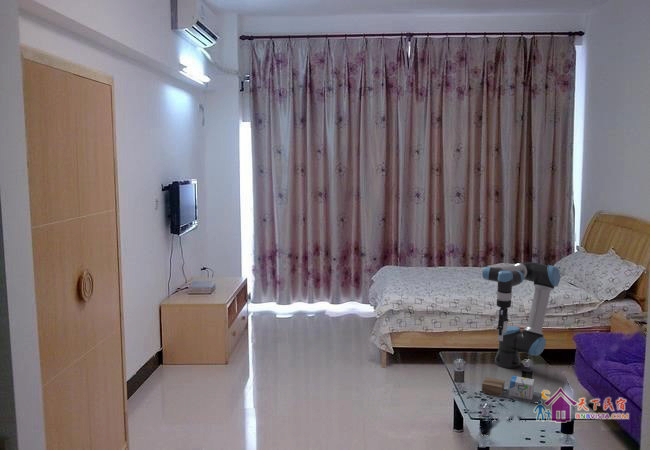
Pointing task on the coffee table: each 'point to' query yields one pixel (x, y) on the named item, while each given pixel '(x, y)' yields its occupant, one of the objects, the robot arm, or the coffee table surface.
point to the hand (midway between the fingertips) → (502, 336)
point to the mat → (535, 398)
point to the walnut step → (493, 386)
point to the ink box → (521, 387)
